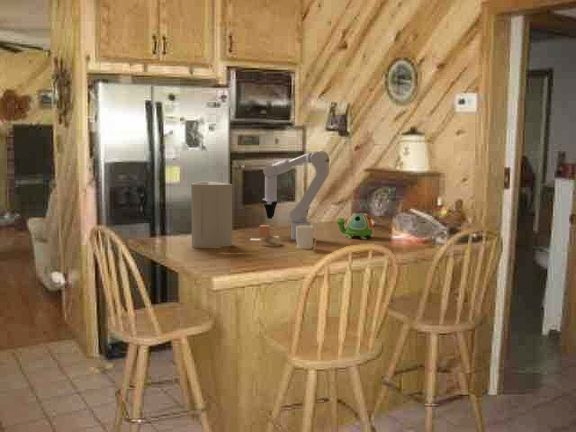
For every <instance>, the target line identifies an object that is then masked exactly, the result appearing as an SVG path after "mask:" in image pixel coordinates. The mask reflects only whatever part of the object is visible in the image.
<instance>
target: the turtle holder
mask: <svg viewBox="0 0 576 432" xmlns="http://www.w3.org/2000/svg"><path fill="white" fill-rule="evenodd" d="M345 222H346V221H345V218H343V217H338V218H337V221H336V223H337V225H338V229H339V231H340V232H341V233H342V234H345V235H347V236H348V237H347V238H348V239H351V240H352V239H353V237H357V236H359V238H360V240H367V238H372V237H373V236H372V235H373V234H374V232H373V229H374V227H373V226H374V225H373V222H372V218H370V216H369V215H368V214H367V213H363V212H362V213H361V212H359V213H358V212H355V213H352V215H350V216H349V218H347V222H346V223H345ZM345 224H346V225H345ZM344 225H345V226H344ZM352 236H353V237H352ZM365 236H366V237H365Z"/></svg>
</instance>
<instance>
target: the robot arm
mask: <svg viewBox="0 0 576 432" xmlns="http://www.w3.org/2000/svg"><path fill="white" fill-rule="evenodd" d="M305 163H308V164H312V166H313V167H314V168H315V172H316V174H315V175H314V177H313V179H312V181H311V183H310V184H309V186H308V187H307V189H306V191H305V192H304V194H303V196H302V198H301V199H300V200H299V202H298V203H297V204H296V205H295V207H294V208H292V209H291V210H290V212H289V218H290V222H291V224H290V233H291V234H290V237H291V238H290V239H292V240H295V241H296V226H299V225H309V226H311V221H307V219H306V218H307V217H308V215H309V210H310V208H311V204H312V203H313V201H314V200H315V198H316V196H317V194H318V192H319V191H320V189H321V188H322V187H323V184H324V183H325V182H326V180H327V178H328V176H329V174H330V173H329V172H330V169H329V168H330V158H329V155H328V153H327V152H326V151H323V150H320V151H314V152H308V153H305V154H303V155H299V156H297V157H295V158H293V159H291V160H289V159H287V158H286V159H285V158H282V159H280V160H279V161H277V162H272V164H267V165H266V166H264V167H263V170H262V172H263V175H264V198H262V201H265V203H263V207H264V209H265V213H266V217H267V219H269V220H270V219H271V220H272V219H273V217H274V215H275V210H276V207H277V204H278V198H277V196H278V194H277V193H278V192H277V189H278V187H277V186H278V185H277V184H278V183H277V182H278V181H277V180H278V175H281V174H283V173H287V172H290V171H291V170H292V168H293V167H295V166H298V165H301V164H305Z"/></svg>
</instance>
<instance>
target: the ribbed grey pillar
mask: <svg viewBox="0 0 576 432" xmlns="http://www.w3.org/2000/svg"><path fill="white" fill-rule="evenodd" d="M190 192H191V201H190V202H191V247H192V248H197V249H198V248H199V249H200V248H201V249H222V248H223V247H231V246H233V184H231V183H225V182H218V181H198V182H195V183H194V182H193V183H191V191H190Z"/></svg>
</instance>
